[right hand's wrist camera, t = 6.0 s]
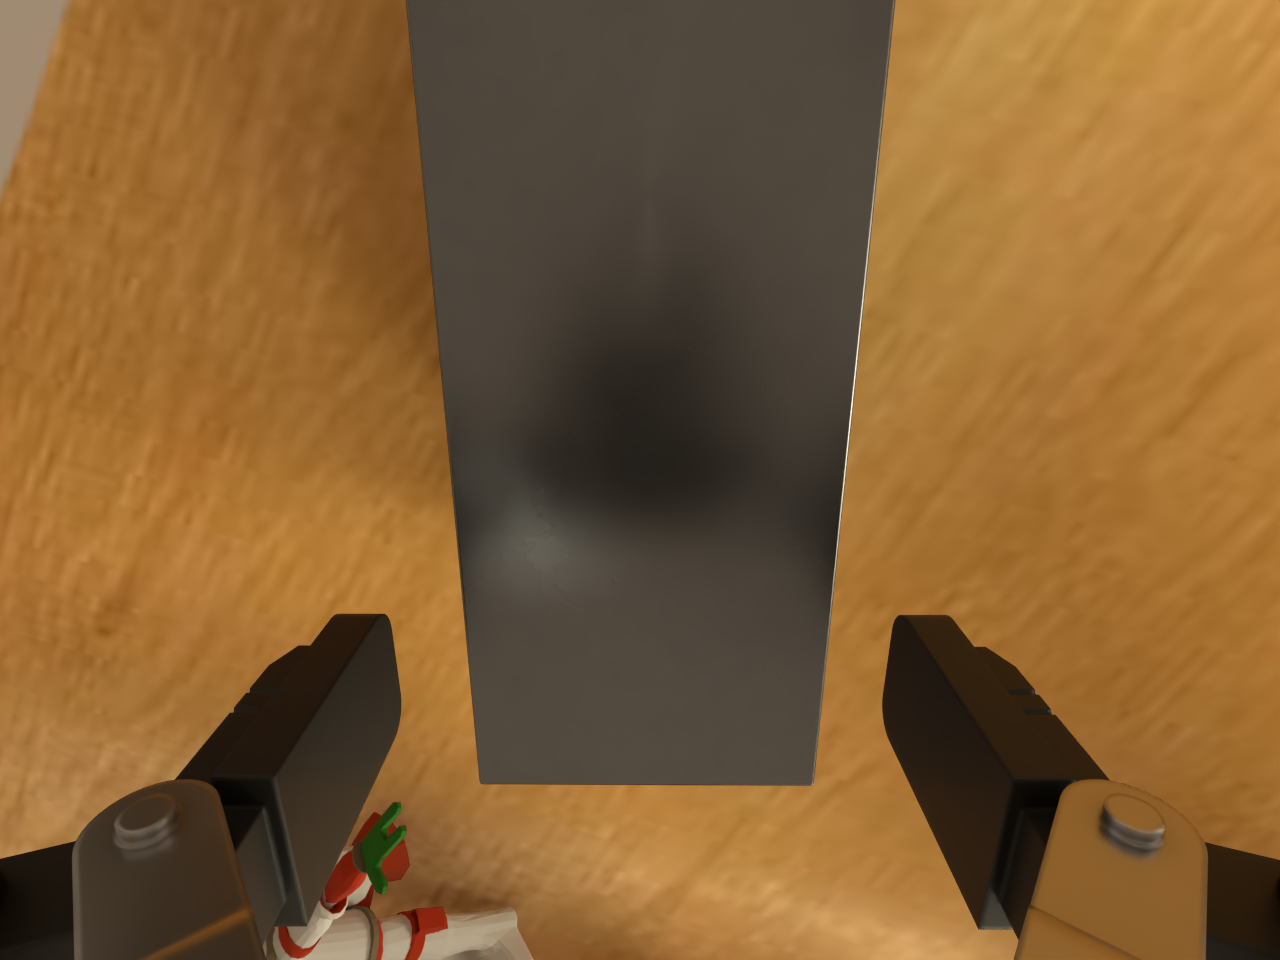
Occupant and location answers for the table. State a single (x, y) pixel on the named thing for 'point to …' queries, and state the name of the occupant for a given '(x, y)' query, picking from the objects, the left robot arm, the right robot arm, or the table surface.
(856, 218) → the box
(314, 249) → the table surface
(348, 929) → the toy
